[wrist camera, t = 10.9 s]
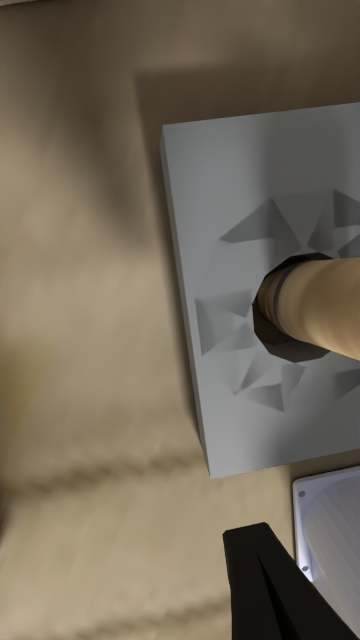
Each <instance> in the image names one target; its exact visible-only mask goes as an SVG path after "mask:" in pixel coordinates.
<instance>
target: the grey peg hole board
mask: <svg viewBox="0 0 360 640" xmlns="http://www.w3.org/2000/svg"><path fill="white" fill-rule="evenodd" d="M159 150H160V157H161V164H162V171H163V178H164V185H165V192H166V200H167V207H168V214H169V221H170V228H171V235H172V242H173V249H174V256H175V263H176V270H177V278H178V285H179V292H180V299H181V306H182V313H183V320H184V327H185V334H186V341H187V348H188V356H189V363H190V370H191V377H192V384H193V391H194V398H195V405H196V412H197V419H198V426H199V434H200V441H201V447H202V450H203V454H204V457H205V461H206V464H207V468H208V471H209V475H210V478H211V479H216V478H221V477H225V476H230V475H235V474H240V473H245V472H250V471H254V470H259V469H264V468H269V467H274V466H279V465H284V464H288V463H293V462H298V461H303V460H308V459H313V458H317V457H322V456H327V455H332V454H337V453H342V452H346V451H351V450H356V449H360V361H359V360H356V359H353V358H351V357H348V356H345V355H342V354H339V353H337V352H334V351H331V350H328V349H325V348H323V347H320V346H317V345H314V344H312V343H309V342H303V341H300V340H295V341H292V342H286V343H280V344H274V345H271V344H268V343H265V342H262V341H260V340H259V339H258V337H257V336H256V335H255V333H254V325H253V312H252V303H253V301H254V299H255V296H256V294H257V292H258V290H259V287H260V285H261V283H262V281H263V279H264V276H265V275H267V274H268V273H269V272H270V271H272V270H273V269H274V268H275V267H277V266H278V265H279V264H281V263H282V262H283V261H284V260H286V259H287V258H288V257H289V256H295V255H302V256H305V257H307V258H309V259H311V260H331V259H344V258H356V257H360V102H357V103H348V104H340V105H331V106H322V107H314V108H305V109H296V110H288V111H279V112H270V113H262V114H253V115H244V116H236V117H227V118H218V119H210V120H201V121H192V122H184V123H175V124H167V125H162V131H161V137H160V143H159Z"/></svg>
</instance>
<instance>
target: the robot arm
mask: <svg viewBox="0 0 360 640" xmlns="http://www.w3.org/2000/svg"><path fill="white" fill-rule="evenodd" d="M301 491H302V492H301ZM299 492H300V493H299ZM293 503H294V521H295V540H296V559H297V564H296V563H295V561H294V560H293V559H292V557H291V556H290V555H289V554H288V552H287V551H286V549H285V548H284V547H283V545H282V544H281V542H280V541H279V540H278V538H277V537H276V535H275V534H274V532H273V531H272V529H271V528H270V526H269V525H268V524H267V523H265V522H262V523H258V524H253V525H249V526H244V527H240V528H235V529H231V530H226V531H225V532H224V533H223V534H222V535H223V542H224V550H225V557H226V565H227V573H228V580H229V584H230V589H231V611H232V640H360V466H357V467H352V468H347V469H343V470H338V471H333V472H328V473H324V474H319V475H314V476H309V477H305V478H300V479H297V480H295V481H294V483H293ZM312 581H313V582H314V584H315V586H316V588H317V589H316V588H315V587H314V585H313V584H312V583H311V582H312Z"/></svg>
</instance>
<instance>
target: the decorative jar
mask: <svg viewBox="0 0 360 640" xmlns="http://www.w3.org/2000/svg"><path fill="white" fill-rule="evenodd" d="M29 1H36V0H0V6H3V5H8V4H15V3H23V2H29Z"/></svg>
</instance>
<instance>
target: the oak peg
mask: <svg viewBox="0 0 360 640" xmlns="http://www.w3.org/2000/svg"><path fill="white" fill-rule="evenodd" d="M258 305H259V309H260V311H261V313H262V314H263V316H264V317H265V318H266V319H268V320H269V321H271V322H273V324H274V325H275V326H276V327H277V328H278V329H279V330H280V331H281V332H283V333H285V334H287V335H289V336H291V337H293V338H295V339H297V340H300V341H303V342H309V343H312V344H314V345H317V346H320V347H323V348H325V349H328V350H331V351H334V352H337V353H339V354H342V355H345V356H348V357H351V358H353V359H356V360H359V361H360V257H356V258H344V259H331V260H308V261H303V262H297V263H294V264H291V265H289V266H287V267H285V268H284V269H282V270H281V271H277V272H274V273H272V274H271V275H269V276H268V277H267V278H266V279H265V280H264V281H263V283H262V284H261V286H260V289H259V292H258Z"/></svg>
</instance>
